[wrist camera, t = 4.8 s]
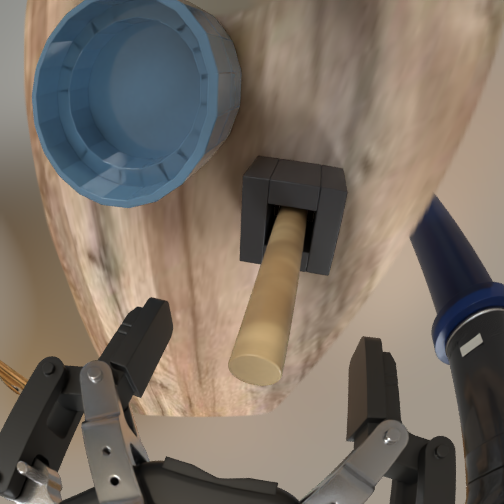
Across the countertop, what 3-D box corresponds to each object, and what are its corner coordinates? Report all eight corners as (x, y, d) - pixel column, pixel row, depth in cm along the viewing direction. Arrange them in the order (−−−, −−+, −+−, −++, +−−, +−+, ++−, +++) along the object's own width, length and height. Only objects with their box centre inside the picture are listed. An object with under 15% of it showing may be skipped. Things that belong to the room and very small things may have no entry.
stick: (310, 190, 22) (285, 361, 10) (307, 214, 23) (278, 390, 11) (283, 186, 22) (227, 350, 10) (281, 210, 23) (227, 379, 11)
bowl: (249, -10, 14) (225, -34, 10) (238, 187, 23) (216, 220, 19) (77, 20, 17) (31, 21, 12) (86, 174, 25) (47, 199, 21)
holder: (343, 168, 20) (347, 191, 17) (328, 241, 24) (328, 276, 20) (257, 155, 21) (242, 176, 18) (253, 229, 25) (239, 261, 21)
